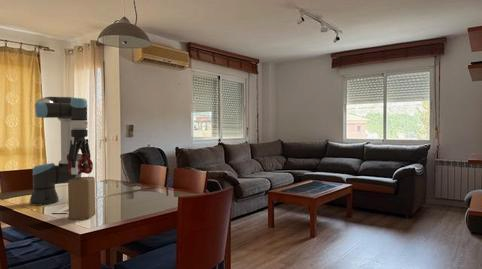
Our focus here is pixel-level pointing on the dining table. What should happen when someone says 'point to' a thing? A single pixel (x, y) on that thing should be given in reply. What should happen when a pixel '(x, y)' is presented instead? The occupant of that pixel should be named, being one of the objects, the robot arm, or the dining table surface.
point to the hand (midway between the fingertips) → (80, 172)
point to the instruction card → (63, 210)
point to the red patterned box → (80, 161)
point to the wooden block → (81, 197)
